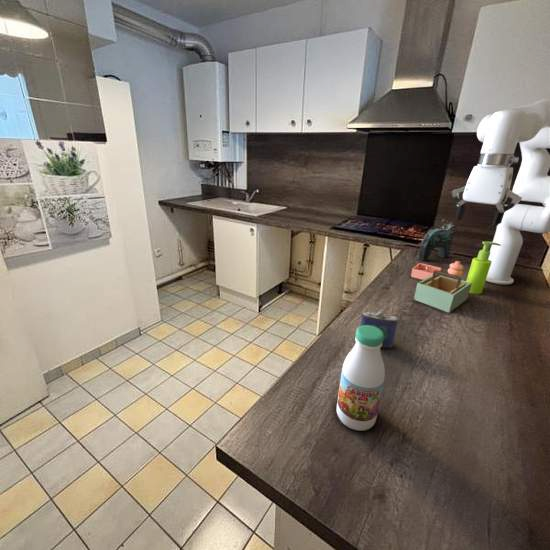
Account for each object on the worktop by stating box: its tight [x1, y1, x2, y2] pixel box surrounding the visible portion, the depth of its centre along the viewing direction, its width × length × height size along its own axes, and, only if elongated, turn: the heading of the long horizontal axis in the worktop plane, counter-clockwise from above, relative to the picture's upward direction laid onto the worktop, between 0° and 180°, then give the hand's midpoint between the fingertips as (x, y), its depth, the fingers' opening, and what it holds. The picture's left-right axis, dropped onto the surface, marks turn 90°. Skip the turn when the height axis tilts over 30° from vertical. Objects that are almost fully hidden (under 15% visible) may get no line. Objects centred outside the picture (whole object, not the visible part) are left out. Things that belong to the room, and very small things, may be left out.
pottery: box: [410, 260, 464, 281], centre depth 120 cm, size 18×10×10 cm, turn 49°
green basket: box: [413, 274, 472, 314], centre depth 104 cm, size 16×12×7 cm
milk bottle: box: [336, 325, 386, 432], centre depth 54 cm, size 8×8×20 cm
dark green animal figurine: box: [418, 218, 458, 262], centre depth 144 cm, size 20×6×20 cm, turn 114°
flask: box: [359, 309, 399, 349], centre depth 78 cm, size 9×3×11 cm, turn 74°
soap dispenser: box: [465, 241, 500, 295], centre depth 109 cm, size 6×7×20 cm
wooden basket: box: [424, 270, 465, 294], centre depth 103 cm, size 13×9×10 cm
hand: (476, 222), depth 87 cm, fingers open, 9 cm apart
